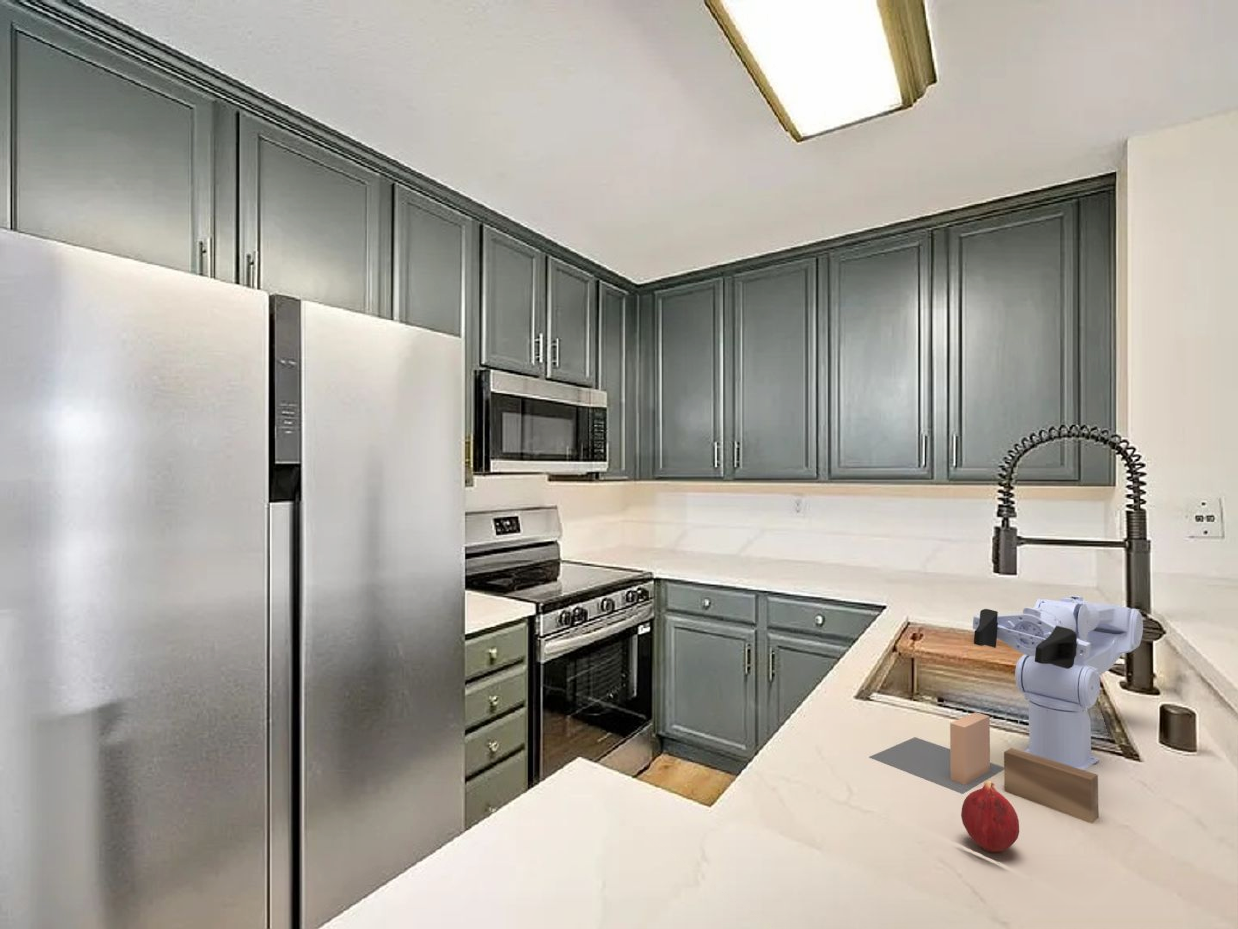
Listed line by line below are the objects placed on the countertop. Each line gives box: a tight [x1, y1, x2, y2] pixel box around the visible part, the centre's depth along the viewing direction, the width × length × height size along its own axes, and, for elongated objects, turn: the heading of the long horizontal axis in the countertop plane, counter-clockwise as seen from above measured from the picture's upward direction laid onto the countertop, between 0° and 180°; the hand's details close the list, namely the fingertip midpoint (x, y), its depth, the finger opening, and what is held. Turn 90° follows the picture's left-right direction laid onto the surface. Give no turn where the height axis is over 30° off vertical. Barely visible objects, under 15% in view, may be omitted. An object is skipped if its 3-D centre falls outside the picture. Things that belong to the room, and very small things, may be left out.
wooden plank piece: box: [1003, 747, 1100, 824], centre depth 82 cm, size 2×10×6 cm, turn 36°
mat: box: [868, 736, 1004, 795], centre depth 94 cm, size 14×14×1 cm
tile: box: [949, 711, 991, 785], centre depth 90 cm, size 8×2×8 cm, turn 126°
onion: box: [960, 779, 1020, 853], centre depth 71 cm, size 6×6×8 cm
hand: (1006, 646), depth 85 cm, fingers open, 7 cm apart
